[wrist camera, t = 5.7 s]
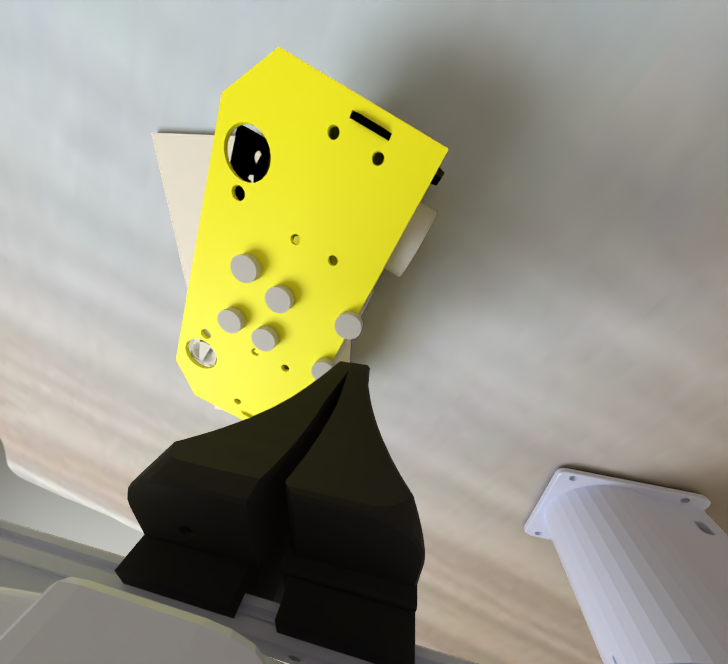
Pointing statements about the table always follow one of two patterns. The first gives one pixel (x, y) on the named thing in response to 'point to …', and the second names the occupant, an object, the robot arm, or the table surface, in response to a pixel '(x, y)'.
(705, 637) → the robot arm
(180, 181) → the felt pad
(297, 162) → the yellow toy chassis
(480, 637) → the table surface
